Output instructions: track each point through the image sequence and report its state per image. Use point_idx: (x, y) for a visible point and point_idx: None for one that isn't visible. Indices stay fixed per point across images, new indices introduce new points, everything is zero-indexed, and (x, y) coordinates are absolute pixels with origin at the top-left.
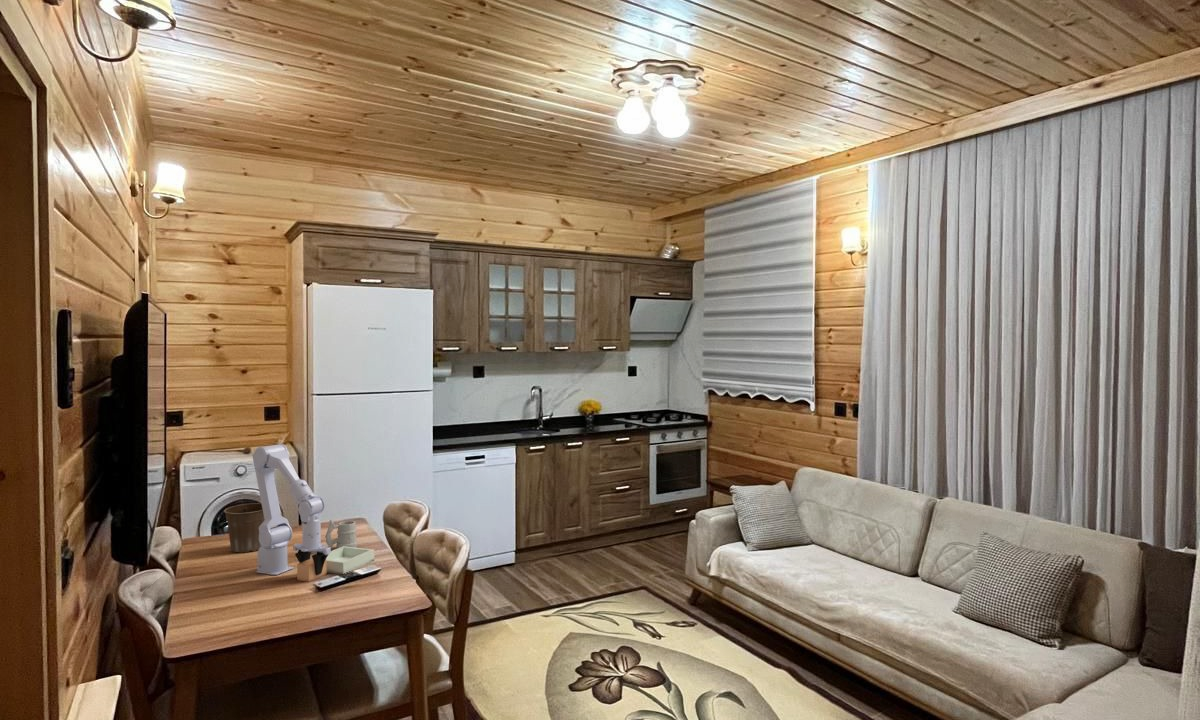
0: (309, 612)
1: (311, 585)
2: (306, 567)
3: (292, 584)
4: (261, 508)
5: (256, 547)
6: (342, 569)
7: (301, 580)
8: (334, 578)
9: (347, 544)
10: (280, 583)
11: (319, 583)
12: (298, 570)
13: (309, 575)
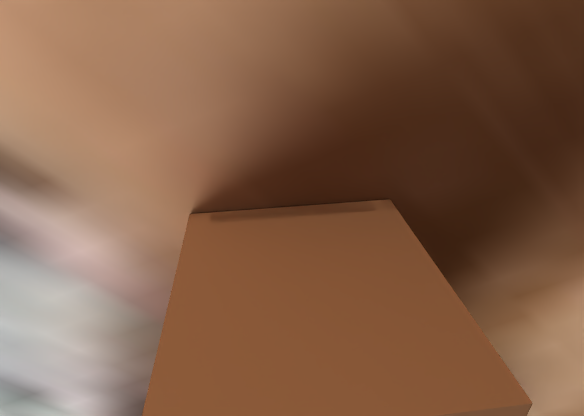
0: None
1: (11, 127)
2: (222, 384)
3: (335, 44)
4: None
5: None
6: None
7: (323, 206)
8: (36, 385)
9: None
10: (555, 5)
11: (3, 229)
12: (426, 292)
13: (178, 277)
